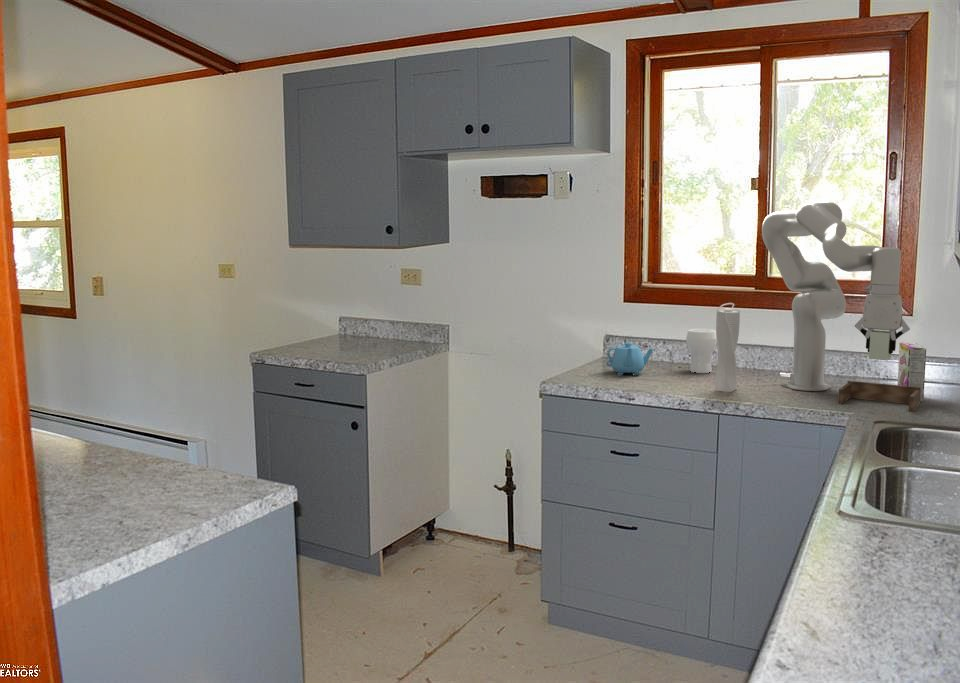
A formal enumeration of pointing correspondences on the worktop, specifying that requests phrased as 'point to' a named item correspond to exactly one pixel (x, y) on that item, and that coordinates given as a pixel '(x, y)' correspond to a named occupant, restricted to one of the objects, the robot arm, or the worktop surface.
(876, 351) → the sage block
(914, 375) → the candy bar box
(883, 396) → the walnut u-shaped bracket
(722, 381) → the skyscraper
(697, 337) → the cup
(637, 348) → the teapot
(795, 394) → the worktop surface
